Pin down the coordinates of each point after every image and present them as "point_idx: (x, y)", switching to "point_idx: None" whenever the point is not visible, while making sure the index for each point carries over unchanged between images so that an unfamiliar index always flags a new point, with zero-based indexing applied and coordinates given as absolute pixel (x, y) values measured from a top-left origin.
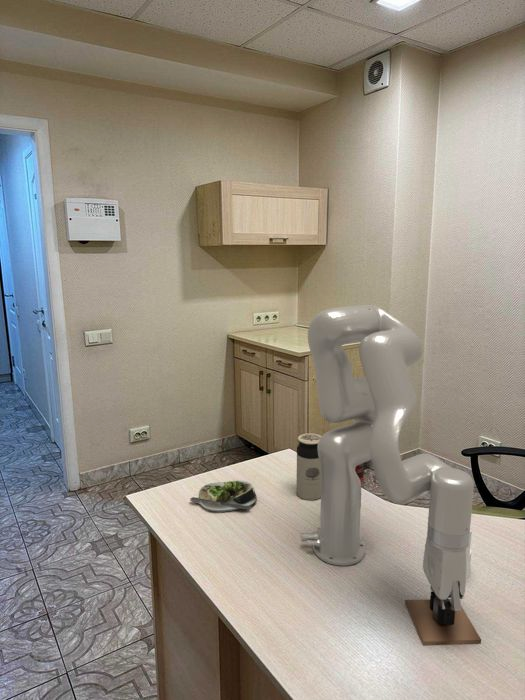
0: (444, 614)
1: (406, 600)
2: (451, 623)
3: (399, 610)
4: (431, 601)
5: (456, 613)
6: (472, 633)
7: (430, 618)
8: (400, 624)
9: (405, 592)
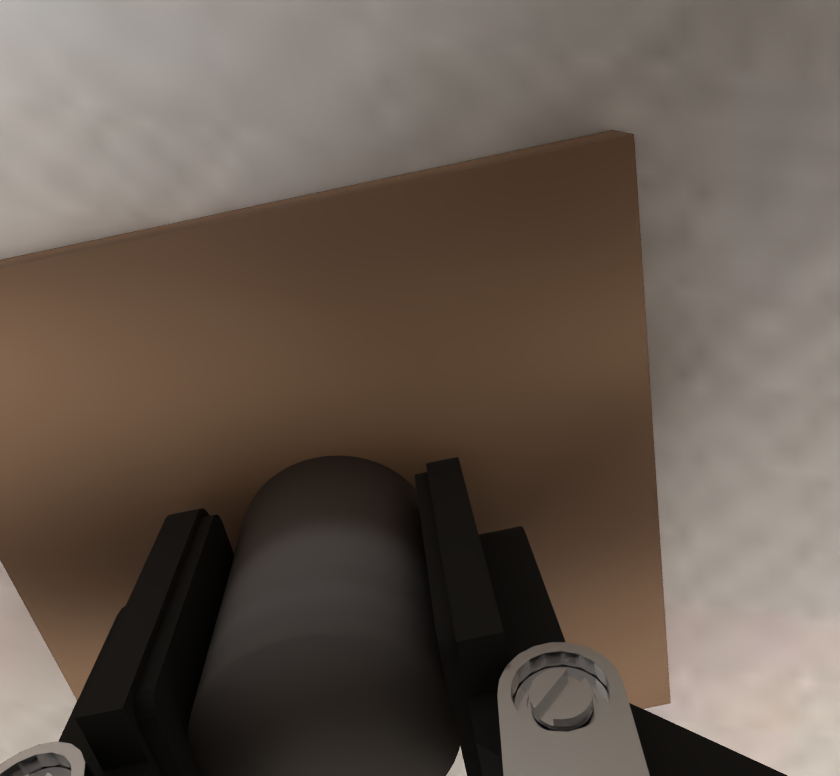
0: (75, 710)
1: (624, 158)
2: None
3: (472, 34)
4: (441, 537)
5: None
6: None
7: (315, 430)
8: (187, 14)
9: (830, 169)
